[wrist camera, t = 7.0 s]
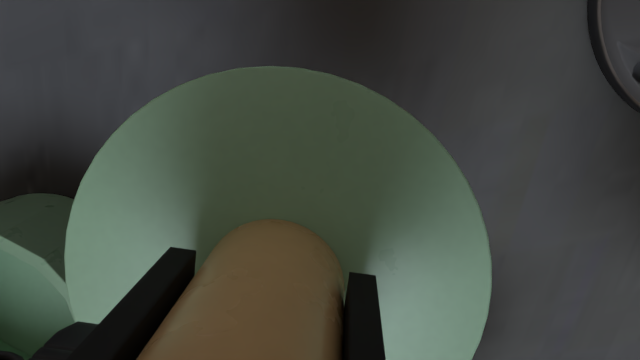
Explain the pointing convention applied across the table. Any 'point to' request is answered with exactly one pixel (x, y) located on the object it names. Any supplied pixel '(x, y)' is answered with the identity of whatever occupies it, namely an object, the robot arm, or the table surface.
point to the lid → (282, 221)
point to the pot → (33, 271)
